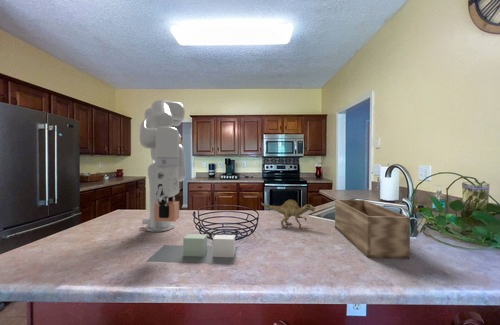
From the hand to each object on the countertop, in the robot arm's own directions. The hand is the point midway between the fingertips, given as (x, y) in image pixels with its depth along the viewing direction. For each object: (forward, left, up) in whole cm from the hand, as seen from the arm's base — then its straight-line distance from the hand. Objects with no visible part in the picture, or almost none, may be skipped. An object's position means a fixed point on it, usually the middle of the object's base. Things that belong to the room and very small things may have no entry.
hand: (167, 215), depth 75 cm
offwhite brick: (+20, 0, -13) cm, 24 cm away
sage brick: (+10, 0, -13) cm, 17 cm away
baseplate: (+10, 0, -14) cm, 17 cm away
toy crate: (+76, +18, -14) cm, 80 cm away
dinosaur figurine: (+46, +36, -14) cm, 60 cm away
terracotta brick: (0, 0, -1) cm, 1 cm away
